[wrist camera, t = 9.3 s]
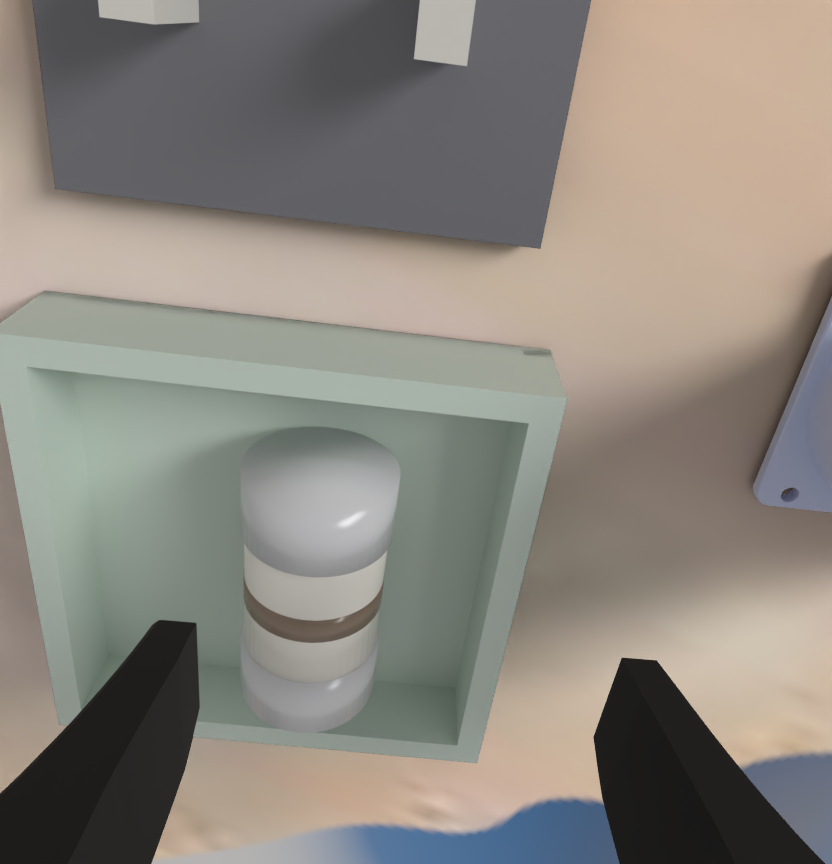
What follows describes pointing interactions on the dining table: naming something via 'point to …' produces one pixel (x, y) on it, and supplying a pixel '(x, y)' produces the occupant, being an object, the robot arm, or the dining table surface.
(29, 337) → the parts tray
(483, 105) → the fuse block
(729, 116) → the dining table surface
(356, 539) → the fuse
